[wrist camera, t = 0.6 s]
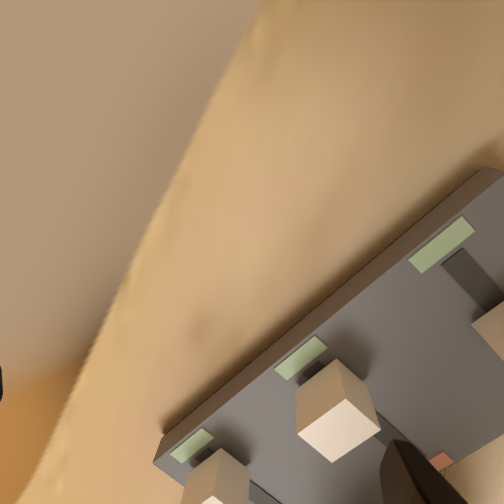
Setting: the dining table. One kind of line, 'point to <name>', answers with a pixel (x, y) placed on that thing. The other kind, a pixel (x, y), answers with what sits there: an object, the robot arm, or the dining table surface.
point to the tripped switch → (492, 329)
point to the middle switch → (335, 411)
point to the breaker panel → (374, 364)
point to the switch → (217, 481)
